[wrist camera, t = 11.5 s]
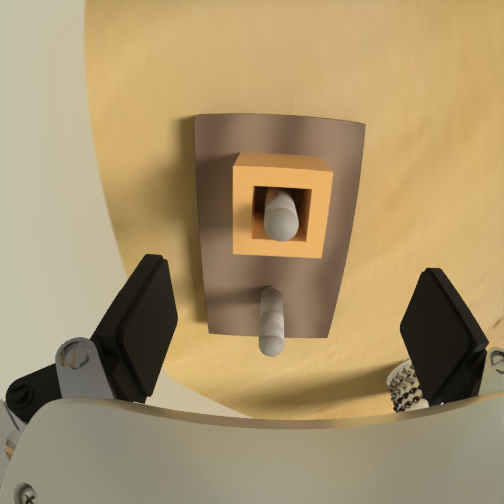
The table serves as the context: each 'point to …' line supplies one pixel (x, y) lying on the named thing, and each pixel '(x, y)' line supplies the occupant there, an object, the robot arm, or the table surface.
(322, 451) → the robot arm
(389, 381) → the decorative candle
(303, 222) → the collar
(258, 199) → the post board
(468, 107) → the table surface
